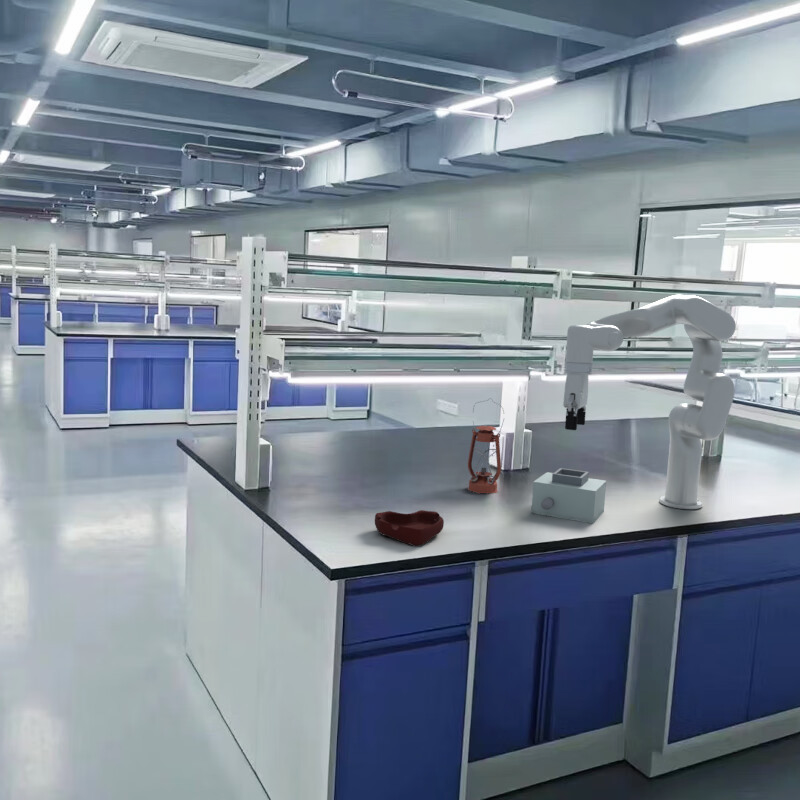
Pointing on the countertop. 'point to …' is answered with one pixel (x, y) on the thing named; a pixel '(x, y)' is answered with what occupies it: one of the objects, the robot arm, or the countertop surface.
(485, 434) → the lantern
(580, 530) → the countertop surface
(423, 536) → the ashtray
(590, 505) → the housing
